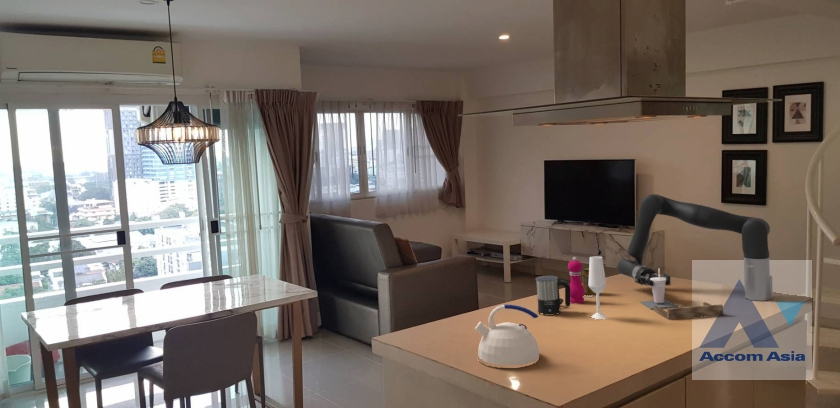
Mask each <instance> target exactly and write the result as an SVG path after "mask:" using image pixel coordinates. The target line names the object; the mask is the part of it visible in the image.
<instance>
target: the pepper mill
mask: <svg viewBox="0 0 840 408" xmlns="http://www.w3.org/2000/svg"><path fill="white" fill-rule="evenodd" d="M567 264H568V265H567V269H568V270H569V275H570V283H569V285H570V302H571V303H570V304H573V303H581V304H583V302H584V303H585V298H584V297H585V296H584V294H585V290H584V287H583V284H582V280H581V276H582V270H583V264H582V262H581V261H579V260H578V259H577V257H576V256H573V257H572V260H571V261H569V262H568V263H567Z"/></svg>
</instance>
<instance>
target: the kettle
mask: <svg viewBox="0 0 840 408" xmlns="http://www.w3.org/2000/svg"><path fill="white" fill-rule="evenodd" d="M505 309H506V310H515V311H520V312H523V313H526V314H527V315H529V316H531V317H532V318H533V319H537V318H539V315H538V313H535V312H534V311H532V310H530V309H528V308H526V307H523V306H519V305H514V304H505V303H504V304H502V305H497V306H496V307H495V308H494V309H492V311H491V312H490V314H489V315H488V319H487V320H488V326H487V325H485V324H484V323H483V322H482V321H479V322H478V323H477V324H476V326H475V327H474V330H475V331H476V332H478V333H479V334H480V335H481V339H480V341H479V345H478V350H477V352H478V353H477V354H478V355H477V357H478V356H479V358H480V359H482V360H483V361H485V362H488V363H492V364H499V365H523V364H528V363H531V362H534V361H536V360H537V359H538V358H539V355H541V354H540V349H539V348H540V347H539V344H538V342H537V340H536V337H535V336H534V335H533V334H532V332H531V331H529V329H528V327H527V326H526V325H525V324H523V323H520V324H518V323H513V322H509V321H507V322H500V323H496V324H495V322H494V318H495V315H496V314H497V313H499V311H501V310H505Z"/></svg>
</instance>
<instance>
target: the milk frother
mask: <svg viewBox="0 0 840 408" xmlns="http://www.w3.org/2000/svg"><path fill="white" fill-rule="evenodd" d="M558 278H559V277H558V276H555V275H542V276H537V277H535V278H534V279H535V282H536V294H537V313H538V312H539V313H543V314H556V315H558V314H557V313H559V314H560V313H561V305H562V304H563V303H564V304H565V307H570V306H571V303H570V283H569V282H567V281H566V280H564V279H558ZM560 286H563V287H564V299H563V298H561V297H560ZM564 301H565V302H564Z"/></svg>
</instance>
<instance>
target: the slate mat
mask: <svg viewBox="0 0 840 408" xmlns="http://www.w3.org/2000/svg"><path fill="white" fill-rule="evenodd" d="M640 304H641V305H643V306H645V307H646V308H648V309H650V310H654V306H657V307H659V308H661V309H663V310H666V309H667V308H679V305H677V304H676V303H673V302H671V301H669V300H668V299H664V302H663V303H656V302H654V300H645V301H640Z"/></svg>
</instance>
